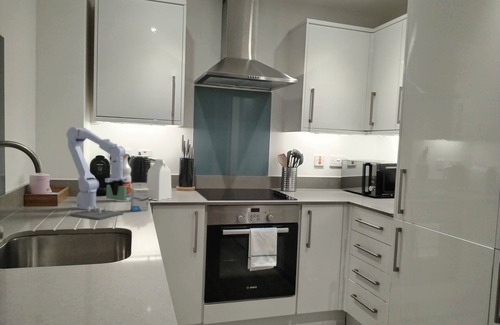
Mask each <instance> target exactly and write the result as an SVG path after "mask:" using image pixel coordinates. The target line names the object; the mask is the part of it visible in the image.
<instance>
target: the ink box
mask: <svg viewBox="0 0 500 325" xmlns="http://www.w3.org/2000/svg"><path fill="white" fill-rule="evenodd" d="M146 187H147V182H131V200H130V211H132V212H143V211H144V212H148V211H149V206H150V205H149V204H150V203H149V202H150V200H149V189H147V188H146Z"/></svg>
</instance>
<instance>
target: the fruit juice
mask: <svg viewBox="0 0 500 325" xmlns="http://www.w3.org/2000/svg"><path fill="white" fill-rule="evenodd" d="M128 158H129V156H128V155H124V156H123V176H122V177H128V180H127V181H124V185H123V187H127V189H126V200H116V199H114V201H115V202H121V203H122V202H125V203H126V202H131V189H132V176H131V173H132V168H131V166H130V165H129V161H128Z"/></svg>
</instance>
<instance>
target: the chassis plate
mask: <svg viewBox="0 0 500 325" xmlns="http://www.w3.org/2000/svg"><path fill="white" fill-rule="evenodd" d="M96 207H97V205H96V206H94V209H90V207H88V210H83V211H82V210H81V211H78V212H73V213H72V212H71V213H70V214H69V215H70V217H76V218H84V219H90V220H98V221H100V220H105V219H108V218H109V219H110V218H113V217H118V216H122V215H124V212H121V211H116V210H115V211H114V210H109V209H108V206H104V209H102V208H101V207H99V208H96Z"/></svg>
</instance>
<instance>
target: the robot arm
mask: <svg viewBox="0 0 500 325" xmlns="http://www.w3.org/2000/svg"><path fill="white" fill-rule="evenodd" d="M65 135H66V138H67V148H68V150H69V152H70V154H71V157H72V159H73V162H74V165H75V168H76V170H77V173H78V175H79V176H78V179H77V183H78V189H79V192H78V193H77V195H76V206H75V209H78V210H79V209H80V210H85V211H87V210H88V207H90V210H92V209H94V206H96V209H99V208H100V206H97V190H98V189H99V187H100V182H99V180H98V179H97V178H96V177H95V175H94V174H92V173H91V171H90V169H89V165H88V164H87V161H86V158H85V155H84V153H83V150H82V148H81V145H83V143H84V142H85V141H86V140H89V141H91V142H93V143H95V144H96V145H98V147H99V149H101V150H102V151H104V152H106V153H108V154H109V156H110V160H111V164H110V166H111V168H110V177H107V178H104V182H105V183H108V185H110V187H111V189H112V193H113V195H117V191H118V186H123V185H124V181H127V180H128V177H122V176H123V156H126V149H125V148H124V147H123V146H121V145H120V146H119V145H118V144H117V143H114V142H112V141H111V140H110V139H108V138H104V139H102V138H101V137H99V136H98V135H96V134H95V133H93V132H92V131H91V130H89V129H87V128H86V127H76V126H71V127H69V128H68V130H67V131H66V134H65Z"/></svg>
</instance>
